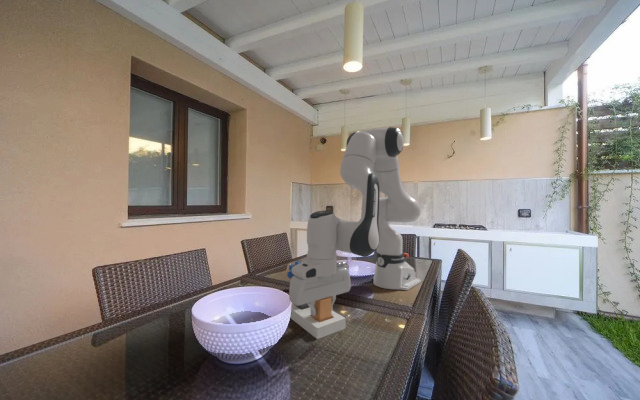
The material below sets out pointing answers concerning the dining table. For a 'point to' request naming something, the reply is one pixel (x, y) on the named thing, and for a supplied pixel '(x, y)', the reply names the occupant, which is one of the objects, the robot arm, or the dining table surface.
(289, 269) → the grapes
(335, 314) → the light grey socket block
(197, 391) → the dining table surface
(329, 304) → the plug
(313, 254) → the robot arm
